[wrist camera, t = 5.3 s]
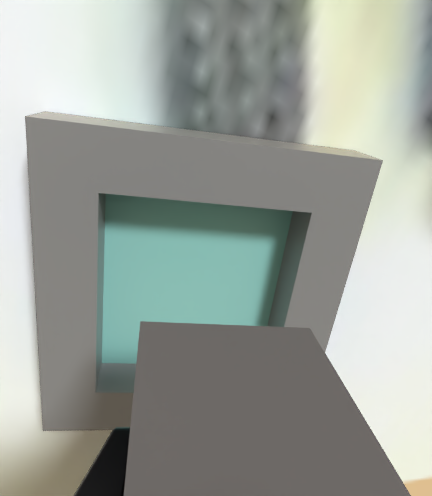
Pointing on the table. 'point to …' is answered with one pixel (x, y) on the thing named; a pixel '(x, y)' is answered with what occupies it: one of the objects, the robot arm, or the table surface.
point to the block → (247, 417)
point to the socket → (176, 245)
